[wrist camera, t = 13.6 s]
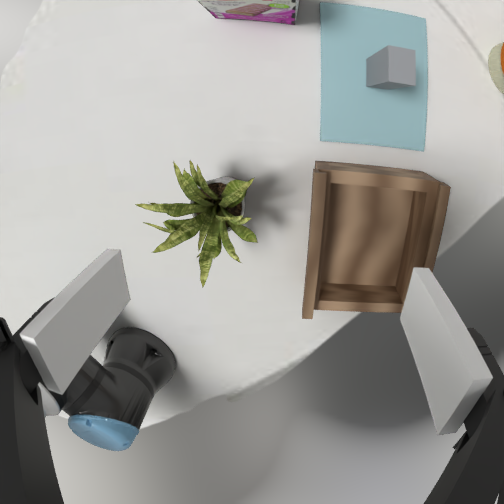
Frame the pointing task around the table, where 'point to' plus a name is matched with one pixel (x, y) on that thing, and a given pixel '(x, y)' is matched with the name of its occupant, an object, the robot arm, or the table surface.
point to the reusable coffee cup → (497, 66)
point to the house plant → (206, 215)
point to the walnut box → (369, 235)
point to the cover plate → (350, 78)
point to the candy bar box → (254, 9)
